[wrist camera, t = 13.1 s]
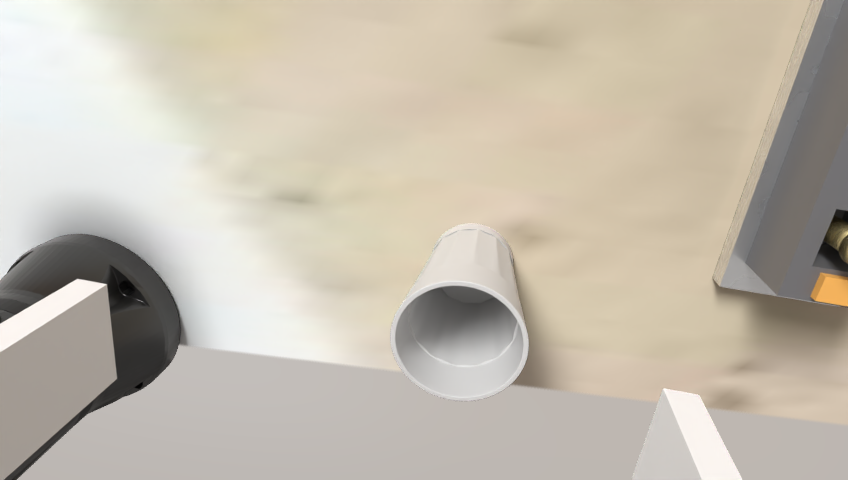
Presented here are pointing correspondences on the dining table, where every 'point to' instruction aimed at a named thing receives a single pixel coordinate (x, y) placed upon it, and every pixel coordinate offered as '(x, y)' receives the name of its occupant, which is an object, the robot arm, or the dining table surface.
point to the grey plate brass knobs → (780, 155)
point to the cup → (463, 318)
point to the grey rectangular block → (811, 190)
